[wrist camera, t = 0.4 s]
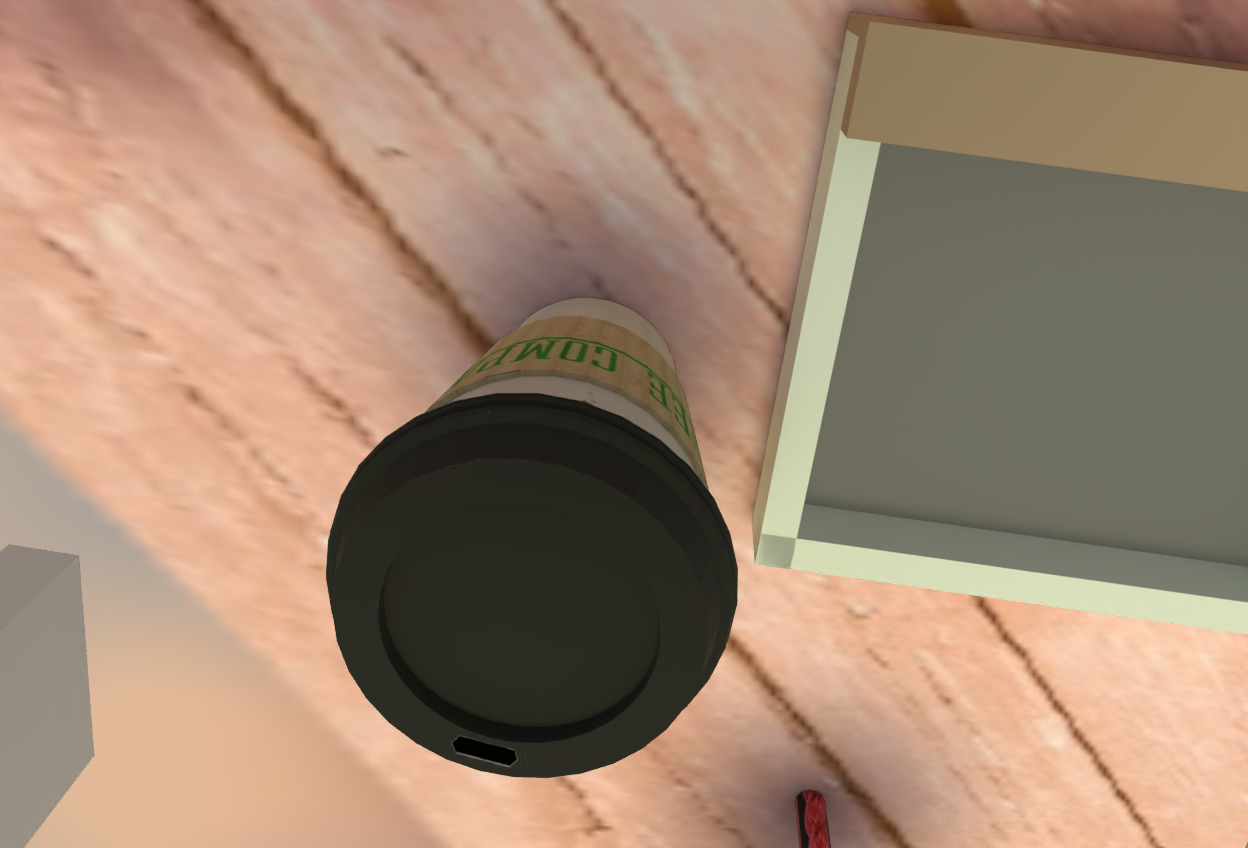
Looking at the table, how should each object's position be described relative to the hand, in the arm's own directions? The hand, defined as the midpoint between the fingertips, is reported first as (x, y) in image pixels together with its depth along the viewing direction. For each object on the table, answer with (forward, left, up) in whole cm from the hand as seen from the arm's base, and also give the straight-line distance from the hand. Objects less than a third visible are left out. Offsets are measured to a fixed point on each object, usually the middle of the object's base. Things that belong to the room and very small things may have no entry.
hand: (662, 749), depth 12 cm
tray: (+2, +13, -26) cm, 29 cm away
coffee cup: (+6, -3, -26) cm, 27 cm away
